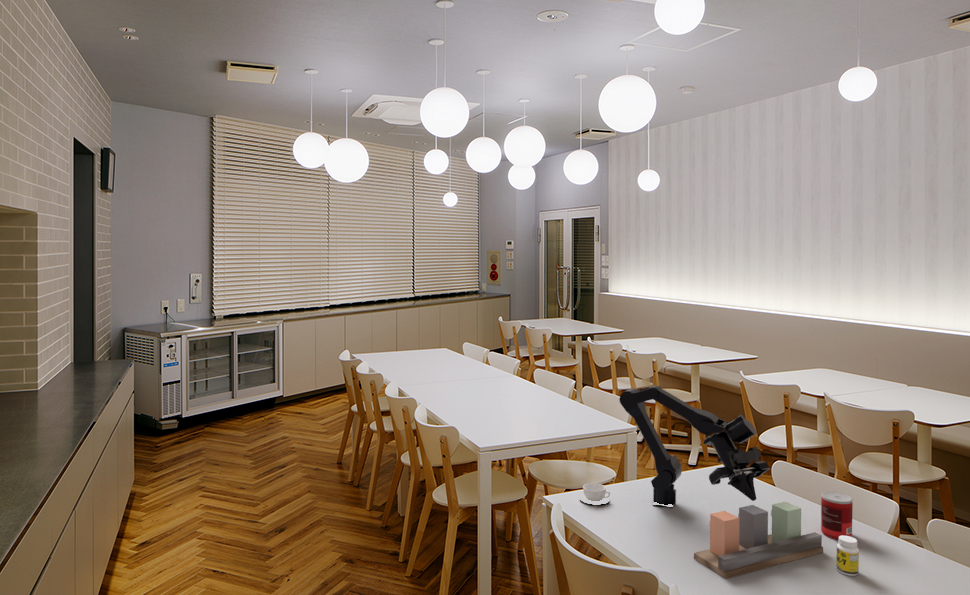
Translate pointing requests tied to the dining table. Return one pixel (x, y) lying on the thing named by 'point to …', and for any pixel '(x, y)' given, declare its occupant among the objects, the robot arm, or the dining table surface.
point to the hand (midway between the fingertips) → (754, 500)
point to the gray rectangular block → (753, 526)
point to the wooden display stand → (761, 555)
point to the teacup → (595, 491)
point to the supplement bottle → (847, 556)
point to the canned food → (836, 514)
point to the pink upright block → (724, 533)
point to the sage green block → (785, 521)
